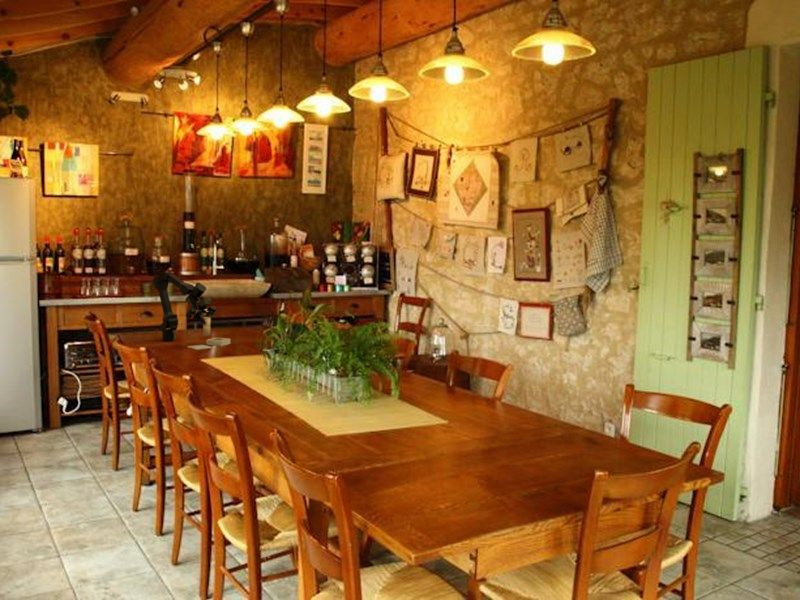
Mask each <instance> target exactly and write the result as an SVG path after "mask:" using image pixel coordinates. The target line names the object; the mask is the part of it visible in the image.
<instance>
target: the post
mask: <svg viewBox="0 0 800 600" xmlns="http://www.w3.org/2000/svg"><path fill="white" fill-rule="evenodd" d="M203 318H204V320H205V322H206V324H203V323H202V335H203V336H211V324H210V317H204V316H203Z"/></svg>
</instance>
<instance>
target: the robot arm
mask: <svg viewBox="0 0 800 600" xmlns="http://www.w3.org/2000/svg"><path fill="white" fill-rule="evenodd" d="M152 283H153V287H154V288H155V289H156V290H157V291H158V295H159V299H160V304H161V307H162V311H163V316H162V322H161V324H160V325H159V330H160V331H161V332H162V333H161V336H162V338H161V341H162V342H173V341H175V340H176V332H175V331H177V330H178V326H179V318H178V315H177V314H174V312H173V308H172V305H171V301H170V296H169V292H168V287H169V283H171V284H172V285H173V286H175V287H176V288H178V291H179V292H180V293H181V295H183V296H186V297H185V302H189V304H190V305H191V307H190V308H189V309H188V310H187V312H186V313H185V316H186V319H194V320H196V321H198V322H199V323H201V324H202V325H203V324H206V322H205V320H204V318H203V317H210V325H211V324H212V323H213V320H212V316H214V315H215V313H216V312H217V310H218V309H217V307H216V306H209V305H211V304H212V302H213V301H212V299H211V297H207V298H203V299H201V300H200V298H201V297H202V296H203V295H204V293H205V292H206V291H207V287H206V286H205V285H204V284H202V283H201V282H196V284H195V285H194V284H191V283H188V282H185V281H184V280H182V279H181V278H179V277H178V276H177V275H175V274H174V272H165V273H163V274H160V275H155V276H154V277H153V279H152ZM208 306H209V307H208ZM203 315H204V316H203Z"/></svg>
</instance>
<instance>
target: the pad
mask: <svg viewBox="0 0 800 600" xmlns="http://www.w3.org/2000/svg"><path fill="white" fill-rule="evenodd" d="M186 348H189V349H193V350H197V351H198V350H206V349H213V346H211V345H206V344H197V345H196V344H195V345H188V346H187V347H186Z"/></svg>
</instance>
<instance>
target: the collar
mask: <svg viewBox="0 0 800 600" xmlns="http://www.w3.org/2000/svg"><path fill="white" fill-rule="evenodd" d="M230 344H231V338H227V337H225V338H224V337H212V338H209V339H206V344H205V345H206V346H216V347H225V346H228V345H230Z"/></svg>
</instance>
